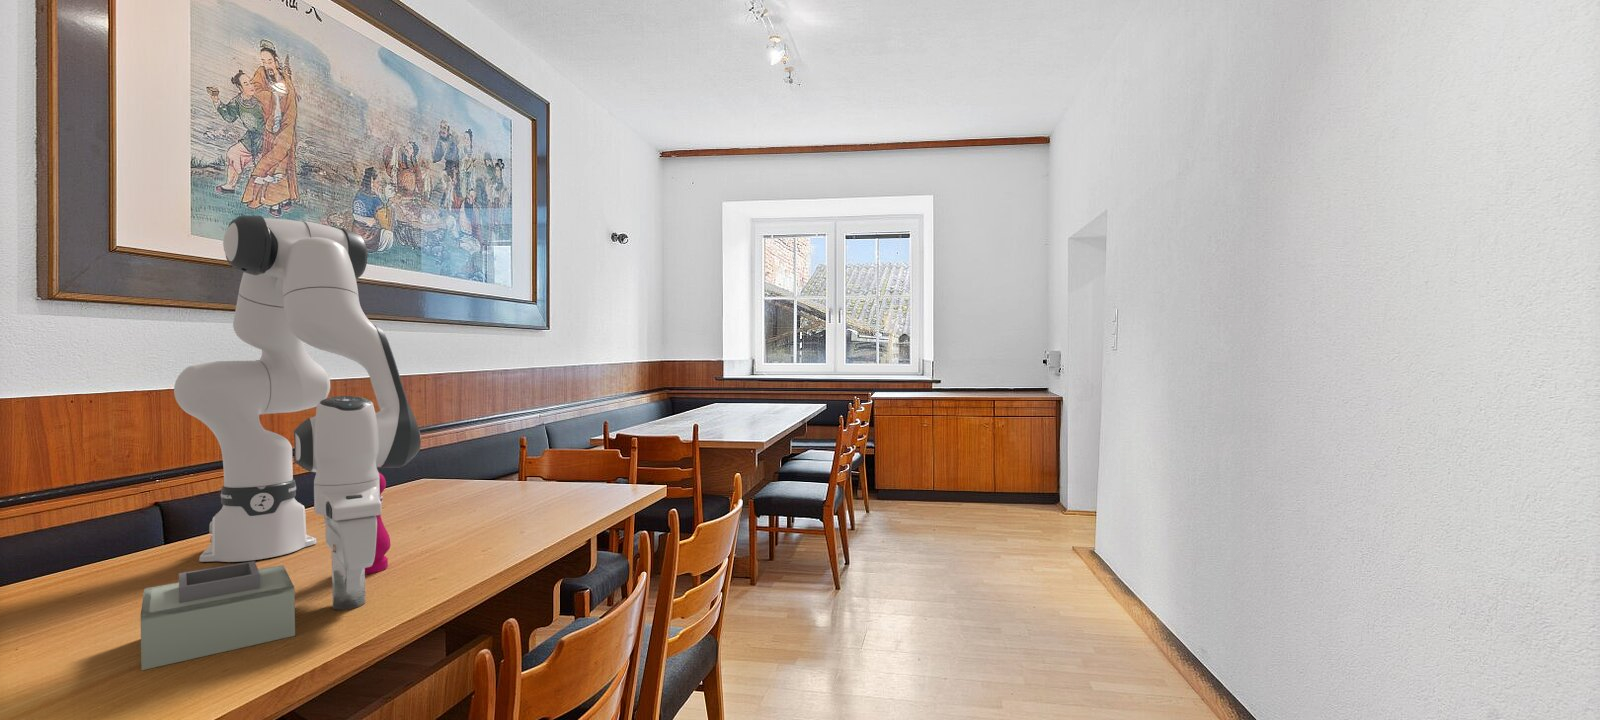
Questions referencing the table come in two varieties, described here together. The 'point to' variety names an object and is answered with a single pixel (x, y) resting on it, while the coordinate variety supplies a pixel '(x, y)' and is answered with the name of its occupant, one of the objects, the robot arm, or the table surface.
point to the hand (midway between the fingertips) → (348, 584)
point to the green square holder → (215, 612)
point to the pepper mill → (380, 539)
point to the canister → (339, 591)
